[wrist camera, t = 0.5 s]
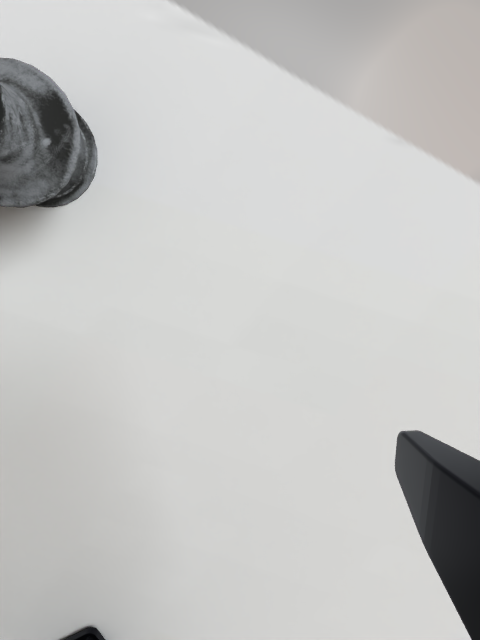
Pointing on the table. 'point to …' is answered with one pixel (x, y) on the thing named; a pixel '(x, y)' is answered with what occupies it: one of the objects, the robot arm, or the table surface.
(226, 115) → the table surface
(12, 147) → the grey upright turned piece
